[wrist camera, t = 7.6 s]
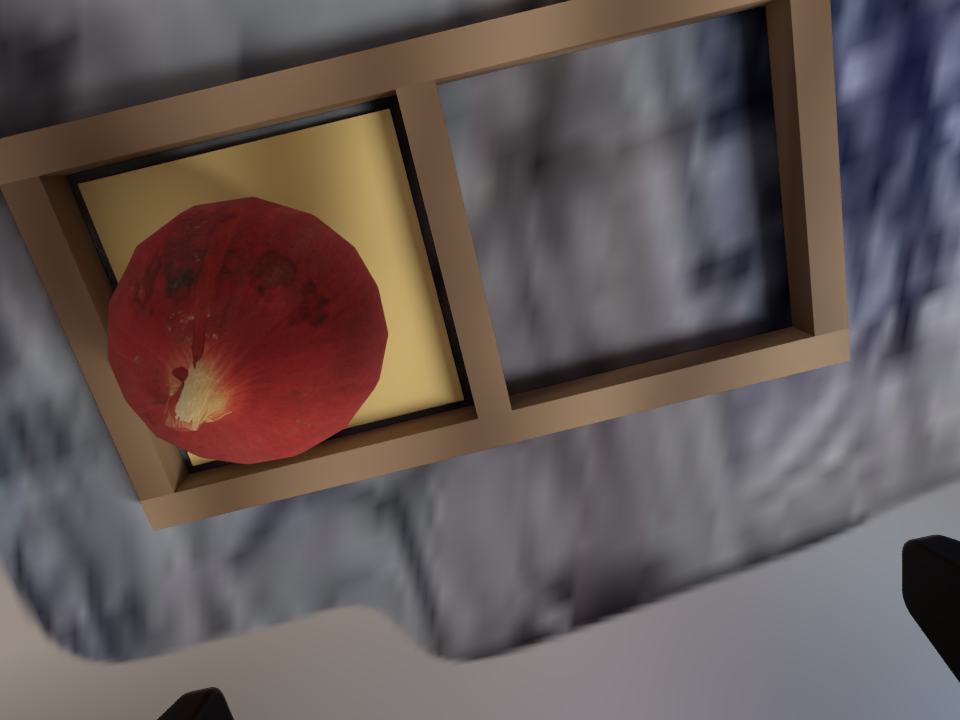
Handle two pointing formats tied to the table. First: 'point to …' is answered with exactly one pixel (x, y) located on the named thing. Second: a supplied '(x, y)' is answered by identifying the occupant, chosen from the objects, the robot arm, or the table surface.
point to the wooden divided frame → (409, 239)
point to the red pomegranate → (246, 331)
